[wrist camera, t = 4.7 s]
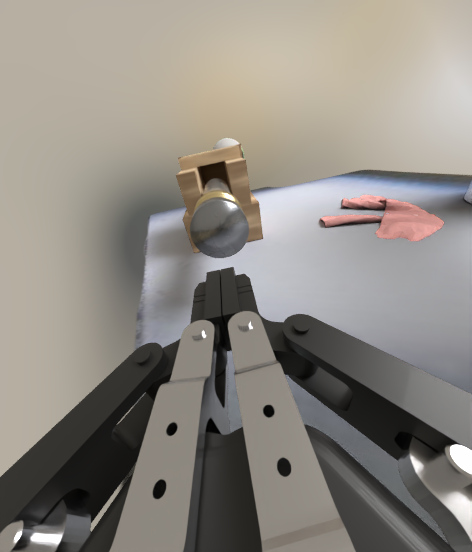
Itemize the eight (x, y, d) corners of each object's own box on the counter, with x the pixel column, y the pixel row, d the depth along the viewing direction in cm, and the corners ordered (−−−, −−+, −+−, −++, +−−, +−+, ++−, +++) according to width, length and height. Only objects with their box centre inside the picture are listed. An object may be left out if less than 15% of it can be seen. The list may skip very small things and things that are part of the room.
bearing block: (199, 224, 46) (178, 157, 38) (250, 213, 46) (239, 143, 38) (194, 253, 34) (163, 164, 27) (263, 238, 34) (251, 144, 26)
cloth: (443, 256, 23) (452, 237, 22) (277, 232, 36) (276, 220, 35) (451, 200, 34) (457, 185, 33) (322, 197, 48) (323, 187, 46)
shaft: (205, 211, 34) (196, 178, 31) (235, 205, 33) (229, 170, 30) (199, 262, 19) (181, 209, 16) (252, 251, 19) (243, 195, 16)
